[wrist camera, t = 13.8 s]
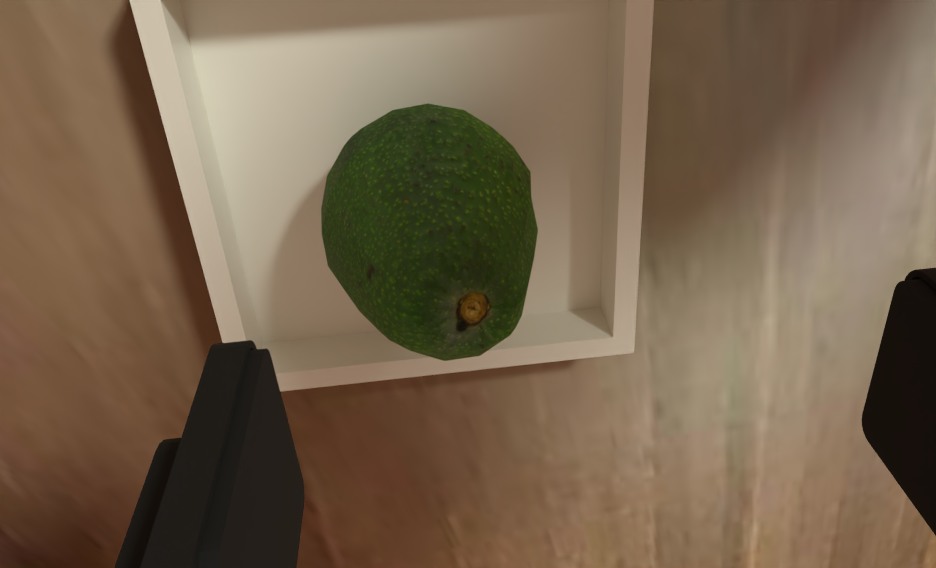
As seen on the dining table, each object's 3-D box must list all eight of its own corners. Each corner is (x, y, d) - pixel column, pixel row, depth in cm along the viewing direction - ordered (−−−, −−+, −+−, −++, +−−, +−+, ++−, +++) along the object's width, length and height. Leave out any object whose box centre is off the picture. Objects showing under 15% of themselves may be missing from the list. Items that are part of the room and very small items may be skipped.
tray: (630, -87, 30) (658, -75, 27) (614, 311, 40) (634, 352, 37) (147, -48, 29) (121, -31, 26) (247, 350, 39) (237, 396, 36)
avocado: (509, 246, 36) (562, 423, 26) (332, 250, 35) (314, 433, 25) (520, 70, 32) (588, 196, 22) (321, 69, 31) (293, 200, 21)
